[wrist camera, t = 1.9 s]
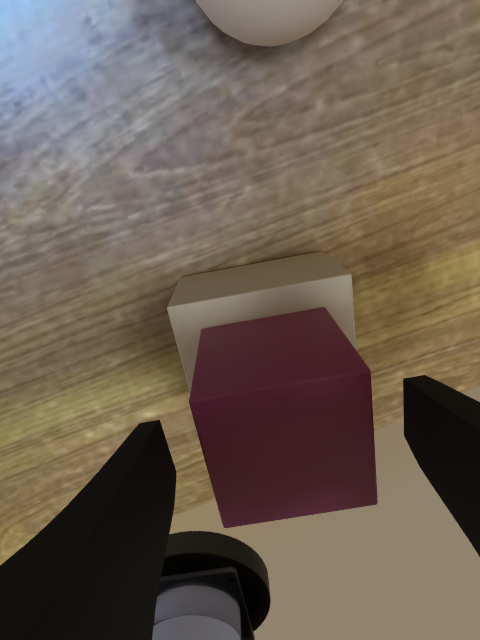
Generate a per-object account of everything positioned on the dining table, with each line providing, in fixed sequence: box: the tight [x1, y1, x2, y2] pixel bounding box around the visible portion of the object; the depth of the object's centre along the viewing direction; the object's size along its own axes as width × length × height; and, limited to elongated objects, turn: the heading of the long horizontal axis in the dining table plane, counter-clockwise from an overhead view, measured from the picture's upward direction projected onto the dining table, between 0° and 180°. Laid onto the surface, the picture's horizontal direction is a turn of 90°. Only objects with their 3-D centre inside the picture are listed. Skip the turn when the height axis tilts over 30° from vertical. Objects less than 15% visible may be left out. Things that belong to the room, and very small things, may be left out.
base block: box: [167, 251, 357, 392], centre depth 16 cm, size 6×6×4 cm
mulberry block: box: [189, 307, 377, 528], centre depth 12 cm, size 4×4×4 cm
